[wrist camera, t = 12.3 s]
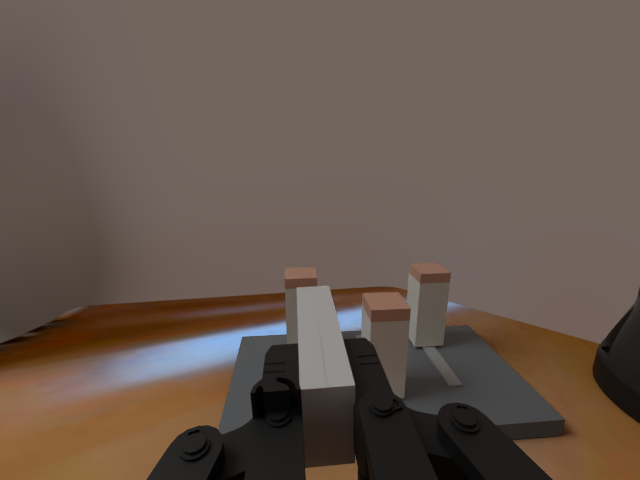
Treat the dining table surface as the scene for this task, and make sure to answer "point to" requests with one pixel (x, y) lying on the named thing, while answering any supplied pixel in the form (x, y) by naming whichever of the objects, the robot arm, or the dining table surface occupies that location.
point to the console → (425, 383)
